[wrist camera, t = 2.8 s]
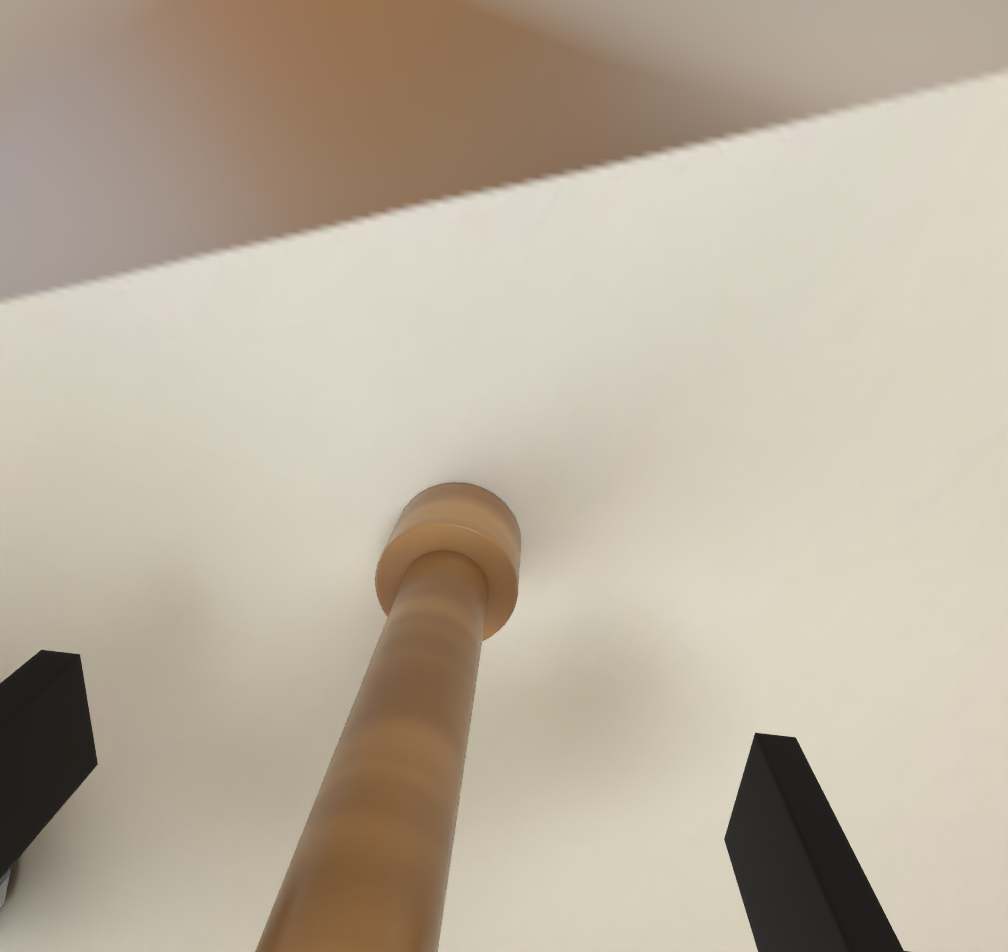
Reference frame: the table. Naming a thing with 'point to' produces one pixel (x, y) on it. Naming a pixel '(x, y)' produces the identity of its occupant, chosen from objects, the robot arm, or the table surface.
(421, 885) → the muddler
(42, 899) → the table surface
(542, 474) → the table surface
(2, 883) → the bowl
